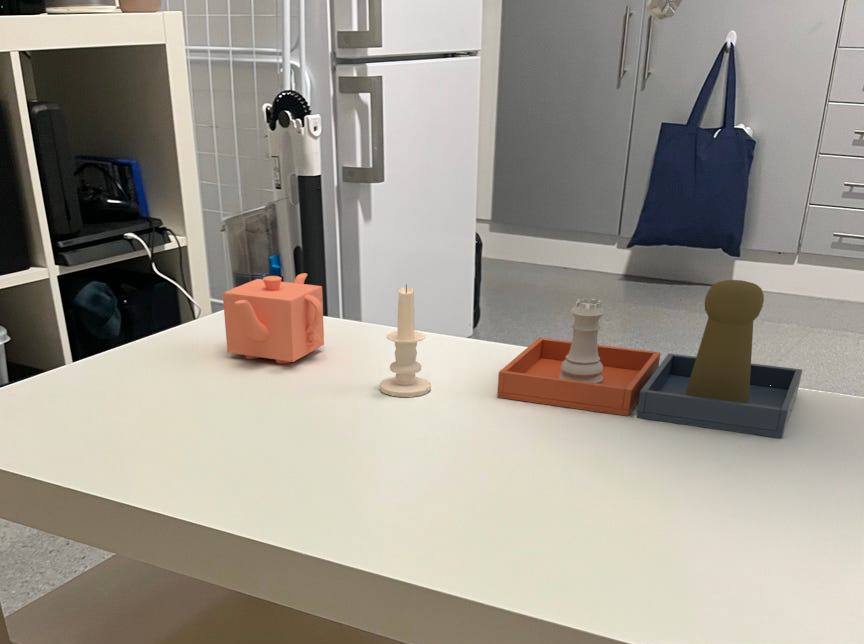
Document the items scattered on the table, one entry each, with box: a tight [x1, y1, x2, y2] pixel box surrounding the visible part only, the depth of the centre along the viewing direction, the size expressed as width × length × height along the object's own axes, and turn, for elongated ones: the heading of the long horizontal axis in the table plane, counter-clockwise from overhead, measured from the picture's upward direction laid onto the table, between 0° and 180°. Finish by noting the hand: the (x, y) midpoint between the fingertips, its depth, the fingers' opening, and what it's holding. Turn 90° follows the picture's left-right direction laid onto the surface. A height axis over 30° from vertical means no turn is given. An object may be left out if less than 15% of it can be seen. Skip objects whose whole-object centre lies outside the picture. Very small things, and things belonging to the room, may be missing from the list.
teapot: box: [222, 272, 325, 364], centre depth 112 cm, size 12×15×8 cm
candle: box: [379, 283, 432, 398], centre depth 101 cm, size 5×5×10 cm
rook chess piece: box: [559, 297, 605, 383], centre depth 101 cm, size 4×4×8 cm
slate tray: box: [636, 353, 803, 439], centre depth 98 cm, size 13×13×3 cm
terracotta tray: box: [497, 337, 661, 417], centre depth 103 cm, size 13×13×3 cm
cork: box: [685, 279, 765, 404], centre depth 96 cm, size 6×6×11 cm
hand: (696, 1), depth 74 cm, fingers open, 8 cm apart
